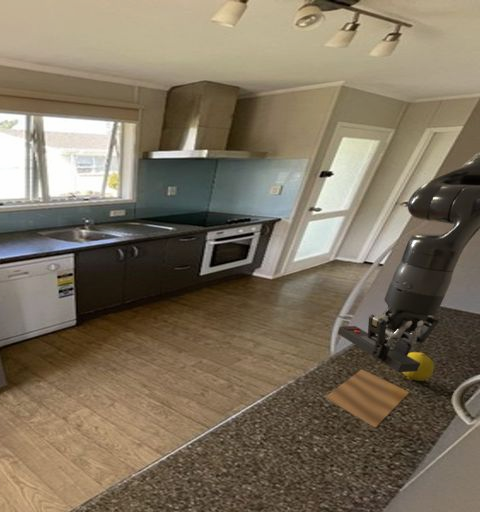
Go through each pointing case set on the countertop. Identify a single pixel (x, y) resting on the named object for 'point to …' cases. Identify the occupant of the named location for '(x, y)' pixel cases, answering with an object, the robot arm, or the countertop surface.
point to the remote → (361, 340)
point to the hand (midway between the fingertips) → (387, 357)
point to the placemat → (367, 397)
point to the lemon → (420, 367)
